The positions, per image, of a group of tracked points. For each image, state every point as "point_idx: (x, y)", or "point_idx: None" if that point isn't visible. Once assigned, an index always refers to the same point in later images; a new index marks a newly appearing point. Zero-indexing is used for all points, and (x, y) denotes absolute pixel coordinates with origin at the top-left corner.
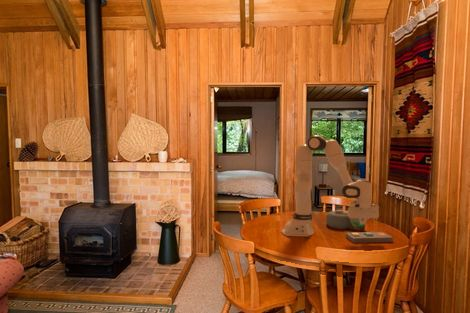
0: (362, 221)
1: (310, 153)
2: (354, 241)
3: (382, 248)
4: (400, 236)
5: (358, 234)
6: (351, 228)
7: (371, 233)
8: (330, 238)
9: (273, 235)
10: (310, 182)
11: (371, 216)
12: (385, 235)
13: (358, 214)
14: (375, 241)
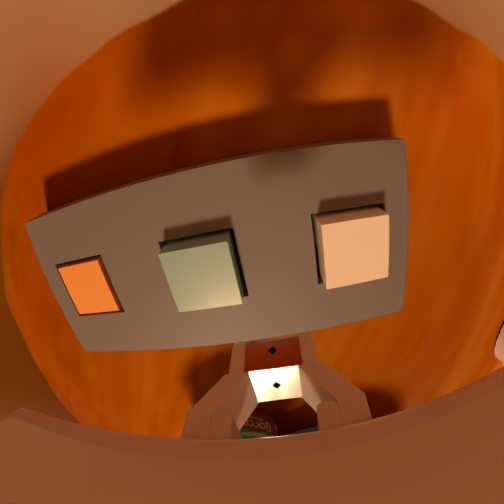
0: (276, 399)
1: None
2: (380, 138)
3: (159, 21)
4: (23, 320)
5: (336, 222)
6: (276, 427)
7: (171, 273)
8: (485, 245)
9: None
10: None
11: (86, 455)
12: (64, 266)
13: (473, 472)
14: (165, 172)
